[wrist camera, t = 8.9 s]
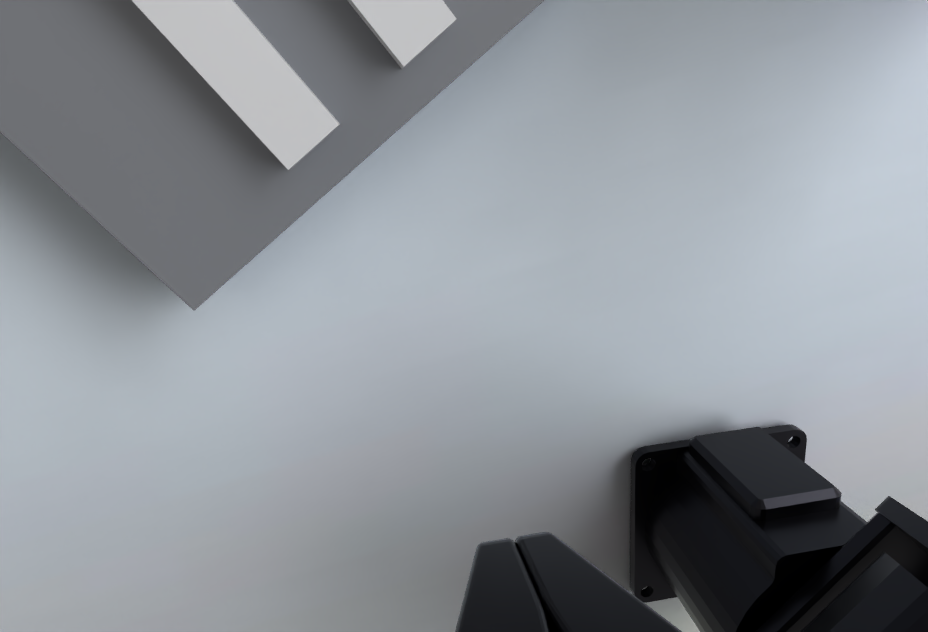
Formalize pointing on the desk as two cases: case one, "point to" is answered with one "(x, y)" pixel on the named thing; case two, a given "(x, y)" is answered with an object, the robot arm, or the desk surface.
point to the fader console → (222, 109)
